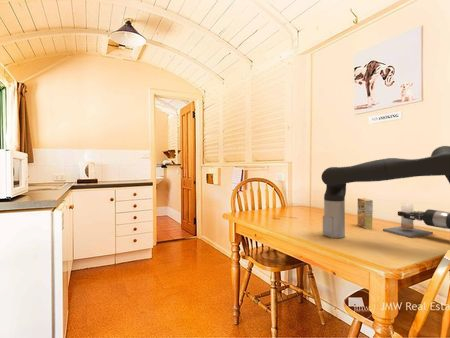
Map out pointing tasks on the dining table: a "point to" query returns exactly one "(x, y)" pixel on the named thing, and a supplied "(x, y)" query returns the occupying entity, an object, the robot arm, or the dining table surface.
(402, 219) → the white cylindrical lamp
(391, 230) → the mat
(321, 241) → the dining table surface
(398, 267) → the dining table surface
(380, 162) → the robot arm
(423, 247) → the dining table surface
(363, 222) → the candy box
